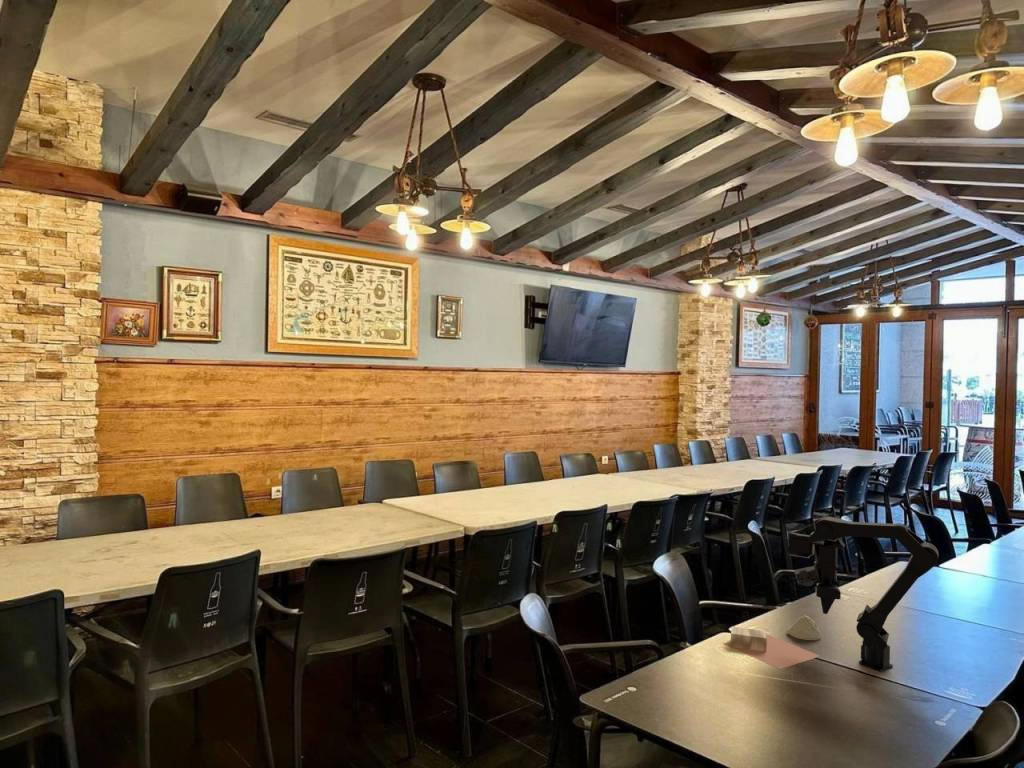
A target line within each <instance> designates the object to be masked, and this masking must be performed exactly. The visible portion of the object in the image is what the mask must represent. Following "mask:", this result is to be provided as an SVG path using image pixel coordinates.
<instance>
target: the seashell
mask: <svg viewBox="0 0 1024 768" xmlns="http://www.w3.org/2000/svg"><path fill="white" fill-rule="evenodd" d="M786 634H788V635H790V636H791V637H794V638H796V639H800V640H805V641H818V640H820V639H821V637H822V634H821V631H820V630H819V627H818V624H817V623H816V622H815V621H814V620H813V619H811V617H810V616H808V615H803V616H800V617H798V618H797V619H796V620H795V621H794V622H793V623H792V625H790V626H789V627H788V629H787V630H786Z"/></svg>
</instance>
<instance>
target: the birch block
mask: <svg viewBox="0 0 1024 768" xmlns="http://www.w3.org/2000/svg"><path fill="white" fill-rule="evenodd" d="M767 635H768V632H767V631H766V630H760V629H752V628H746V627H739V626H738V627H737V626H731V632H730V642H731V647H730V648H732V647H736V648H743V649H750V650H757V651H763V652H766V647H767Z"/></svg>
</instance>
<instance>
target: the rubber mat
mask: <svg viewBox="0 0 1024 768" xmlns="http://www.w3.org/2000/svg"><path fill="white" fill-rule="evenodd" d="M724 645H725V646H727V647H730V648H731V649H733V650H736V651H739V652H741V653H743V654H745V655H747V656H750V657H752V658H754V659H756V660H759V661H761V662H764V663H766V664H768V665H770V666H773V667H774V668H776V669H779V670H782V669H785V668H789V667H791V666H795V665H798V664H801V663H805V662H808V661H810V660H814V659H816V658H819V657H821V655H819V654H817V653H814V652H811V651H810V650H806V649H804V648H802V647H799V646H797V645H794V644H792V643H790V642H787V641H784V640H781V639H780V638H777V637H774V636H772V635H769V634H767V647H766V652H763V651H757V650H750V649H743V648H736V647H731V641H729V642H726V643H724Z"/></svg>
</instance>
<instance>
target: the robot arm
mask: <svg viewBox="0 0 1024 768" xmlns="http://www.w3.org/2000/svg"><path fill="white" fill-rule="evenodd" d="M814 529H815V530H814V531H812V532H811V533H810V534H802V533H799V532H798V533H796V532H793V531H791V533H790V534H789V541H788V544H787V553H788V555H789V556H792V557H798V558H806V559H810V557H811V556H815V561H814V562H813V566H807V567H803V568H798V569H795V570H794V575H795V579H796V581H797V584H798V585H803V584H805V583H809V582H814V583H815V584H816V585H813V588H814V592H815V596H816V597H817V598H820V603H821V610H822V614H823V615H827V614H829V611H830V609H831V608H832V605H833V604H834V602H835V600H841V595H842V593H841V590H840V588H839V587H838V580H837V578H838V577H837V576H838V571H839V570H838V569H839V566H838V549H844V548H845V546H846V543H844V542H843V541H842V540H841V539H843V538H847V537H848V538H849V537H855V538H857V537H859V538H873V539H875V538H876V539H890V540H891V539H893V540H897V541H898V542H899V543H900V544H901V545H902V547H904V549H905V550H906V551H907V552H908V553H909V554H910V555H911V556H910V558H909V560H908V562H907V564H906V566H905V568H904V569H903V570H902V572H901V573H900V574H899V576H897V578H896V579H895V580H894V582H893V583H892V584H891V585H890V586H889V587H888V589H887V590H886V592H884V594H883V595H882V596H881V598H880V599H879V600H878V602H877V603H876V604H875V605H873V606H872V607H870V605H869V604H866V605H865V607H864V609H863V610H862V612H860V613H858V616H857V618H856V622H857V623H856V627H855V628H856V632H857V634H858V635H859V636H860V638H862V643H861V645H860V660H858V664H860V665H863V666H866V667H868V668H871V669H873V670H876V671H878V672H882V671H884V670H888V669H892V668H893V667H894V666H893V665H894V664H891V663H890V661H891V646H890V645H889V644H888V641H889V637H890V633H889V632H887V630H886V629H885V628H884V625H885V622H886V621H887V618H888V617H889V615H890V613H892V611H893V610H894V609H895V608H896V606H897V605H899V603H900V602H901V600H902V599H903V598H904V596H905V595H906V594H907V592H908V591H909V590H910V589H911V587H912V586H914V584H915V583H916V581H917V580H919V578H921V577H922V576H924V575H925V574H927V573H928V572H929V571H930V570H932V569H933V568H934V567H935V566H936V565H937V563H938V562H939V550H938V549H937V547H936V546H935V545H934V544H933V543H930V542H928V541H927V542H926V541H925V540H924V539H922V538H921V537H920V536H918V535H917V533H915V532H913V531H912V530H910V529H909V528H908V526H906V525H905V524H904V523H900V522H899V523H884V522H883V523H882V522H879V523H878V522H860V521H859V522H858V521H849V520H845V519H843V518H838V517H834V516H833V517H832V516H823V517H821V518H820V519H819V520H818V521H817V522H816V524H815V527H814ZM821 540H822V541H821ZM814 554H815V555H814Z"/></svg>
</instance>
